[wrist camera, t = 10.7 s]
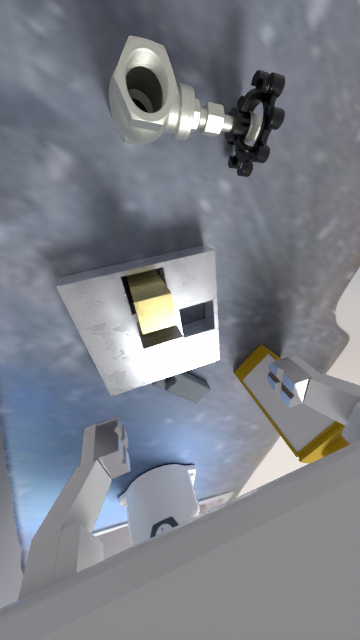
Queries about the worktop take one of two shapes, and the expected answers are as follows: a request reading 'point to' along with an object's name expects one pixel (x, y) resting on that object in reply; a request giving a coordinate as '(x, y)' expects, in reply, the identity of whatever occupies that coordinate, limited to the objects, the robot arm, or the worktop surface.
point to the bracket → (184, 386)
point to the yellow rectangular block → (152, 301)
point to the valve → (188, 106)
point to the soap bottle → (290, 412)
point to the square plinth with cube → (123, 324)
